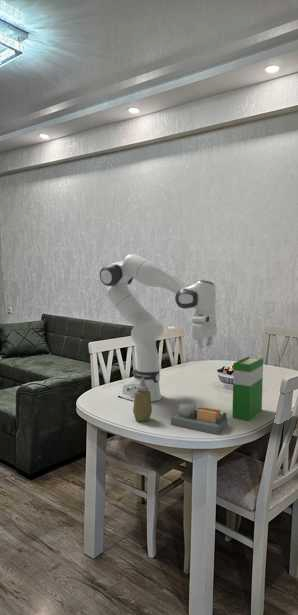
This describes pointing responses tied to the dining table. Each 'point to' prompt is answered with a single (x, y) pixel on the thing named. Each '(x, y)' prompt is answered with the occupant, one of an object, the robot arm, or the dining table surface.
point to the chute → (208, 414)
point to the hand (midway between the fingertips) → (204, 347)
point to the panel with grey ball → (189, 420)
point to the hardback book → (247, 388)
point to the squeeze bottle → (142, 402)
